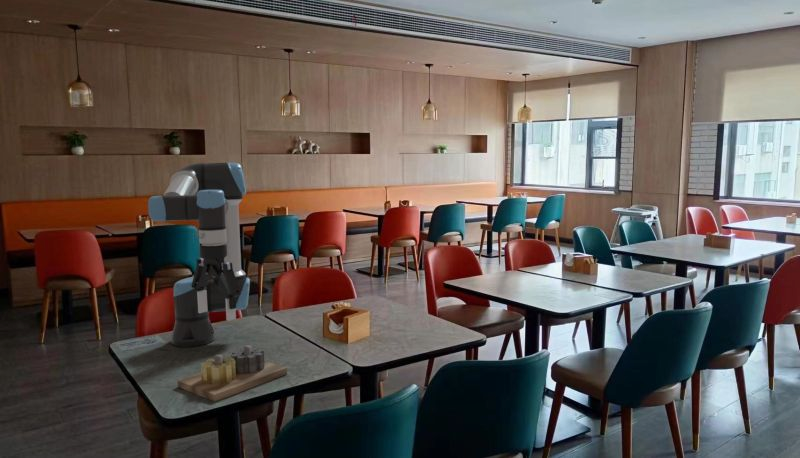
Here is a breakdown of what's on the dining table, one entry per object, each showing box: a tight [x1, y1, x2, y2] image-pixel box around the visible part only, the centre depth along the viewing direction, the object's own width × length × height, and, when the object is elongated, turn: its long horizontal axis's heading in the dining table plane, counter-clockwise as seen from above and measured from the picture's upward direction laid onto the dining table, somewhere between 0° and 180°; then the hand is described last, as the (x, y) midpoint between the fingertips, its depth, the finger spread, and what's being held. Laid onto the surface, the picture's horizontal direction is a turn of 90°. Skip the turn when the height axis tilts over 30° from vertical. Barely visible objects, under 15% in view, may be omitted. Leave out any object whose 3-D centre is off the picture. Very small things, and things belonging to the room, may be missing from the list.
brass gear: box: [200, 356, 237, 385], centre depth 176 cm, size 10×10×5 cm
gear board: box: [177, 344, 288, 403], centre depth 180 cm, size 18×26×9 cm
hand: (216, 316), depth 175 cm, fingers open, 13 cm apart
